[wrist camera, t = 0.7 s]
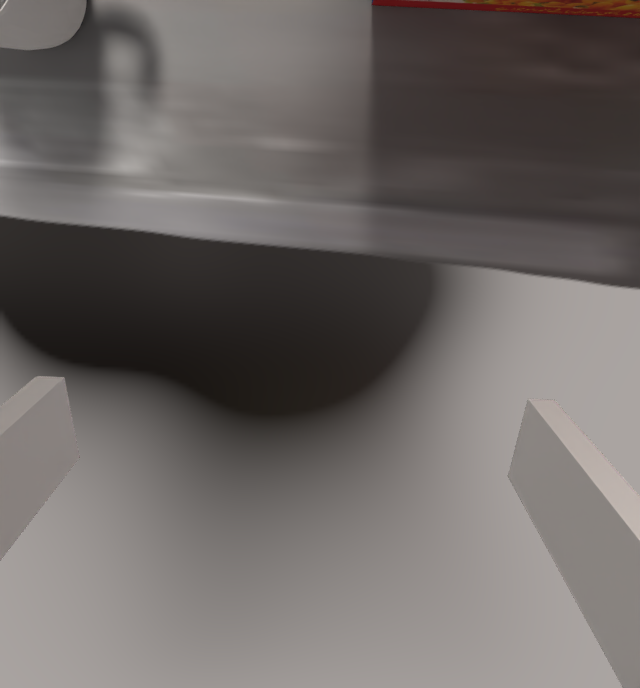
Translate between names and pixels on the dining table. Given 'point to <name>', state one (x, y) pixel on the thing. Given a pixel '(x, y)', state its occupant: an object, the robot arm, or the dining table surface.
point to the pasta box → (530, 6)
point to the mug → (39, 22)
